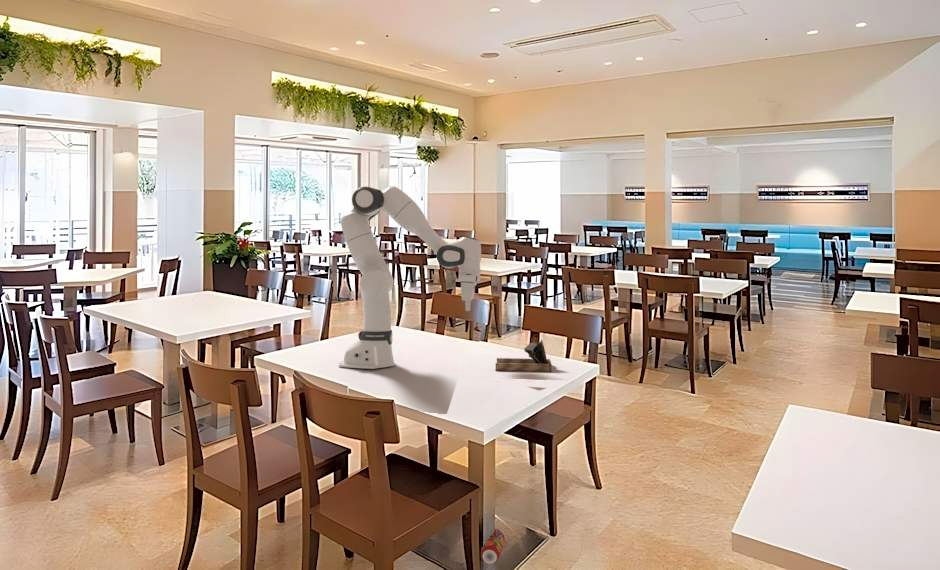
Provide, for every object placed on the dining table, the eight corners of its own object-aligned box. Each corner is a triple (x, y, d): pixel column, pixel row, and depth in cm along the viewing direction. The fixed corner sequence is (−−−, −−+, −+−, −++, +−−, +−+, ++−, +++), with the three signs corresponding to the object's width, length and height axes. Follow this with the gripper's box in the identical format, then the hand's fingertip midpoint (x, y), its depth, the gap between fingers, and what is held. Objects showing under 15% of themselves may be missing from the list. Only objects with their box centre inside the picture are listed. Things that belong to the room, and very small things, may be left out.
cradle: (495, 370, 245) (495, 363, 244) (496, 365, 259) (496, 358, 258) (551, 372, 243) (551, 364, 243) (549, 366, 257) (549, 359, 257)
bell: (534, 365, 259) (534, 337, 258) (548, 367, 254) (547, 338, 253) (519, 369, 252) (519, 339, 251) (533, 371, 247) (532, 341, 246)
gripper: (463, 276, 262) (462, 308, 262) (459, 277, 241) (457, 312, 242) (478, 276, 261) (477, 309, 262) (475, 277, 241) (473, 313, 241)
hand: (467, 310), depth 252 cm, fingers closed
